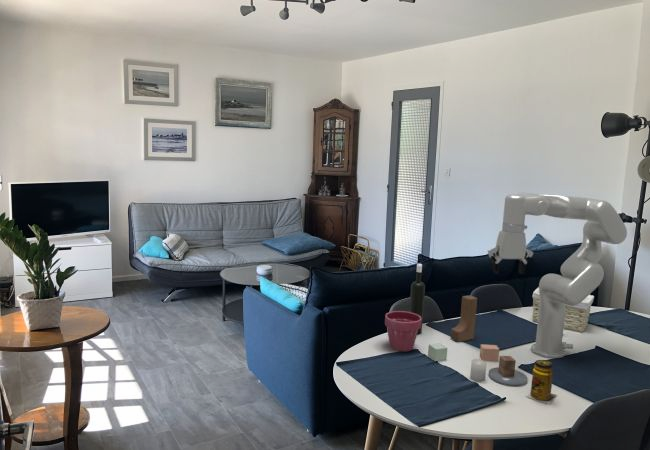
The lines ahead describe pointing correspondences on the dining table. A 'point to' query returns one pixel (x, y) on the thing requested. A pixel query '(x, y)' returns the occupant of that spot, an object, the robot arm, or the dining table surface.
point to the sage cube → (437, 352)
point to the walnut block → (507, 366)
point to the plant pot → (402, 329)
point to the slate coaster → (508, 378)
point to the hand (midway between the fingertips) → (508, 273)
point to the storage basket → (568, 312)
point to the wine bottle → (417, 296)
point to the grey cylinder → (478, 370)
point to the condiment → (542, 382)
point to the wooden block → (466, 320)
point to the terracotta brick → (489, 352)
